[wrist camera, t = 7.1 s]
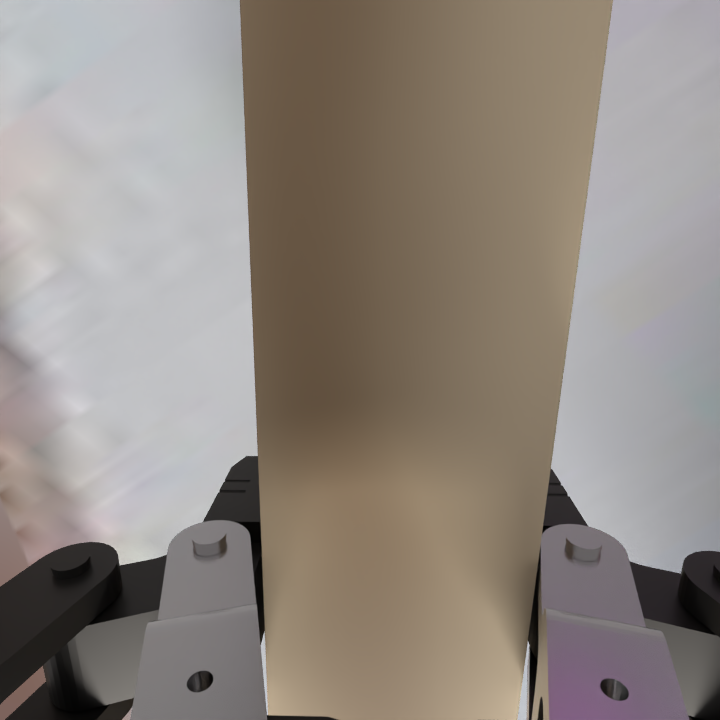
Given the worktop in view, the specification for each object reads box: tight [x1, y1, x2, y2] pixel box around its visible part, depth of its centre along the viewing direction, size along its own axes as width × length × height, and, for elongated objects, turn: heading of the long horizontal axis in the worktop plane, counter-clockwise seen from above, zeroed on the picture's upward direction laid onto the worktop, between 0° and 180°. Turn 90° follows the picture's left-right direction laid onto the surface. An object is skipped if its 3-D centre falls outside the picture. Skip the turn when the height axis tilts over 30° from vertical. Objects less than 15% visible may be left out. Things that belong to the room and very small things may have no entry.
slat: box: [240, 0, 613, 720], centre depth 11 cm, size 4×20×5 cm, turn 179°
